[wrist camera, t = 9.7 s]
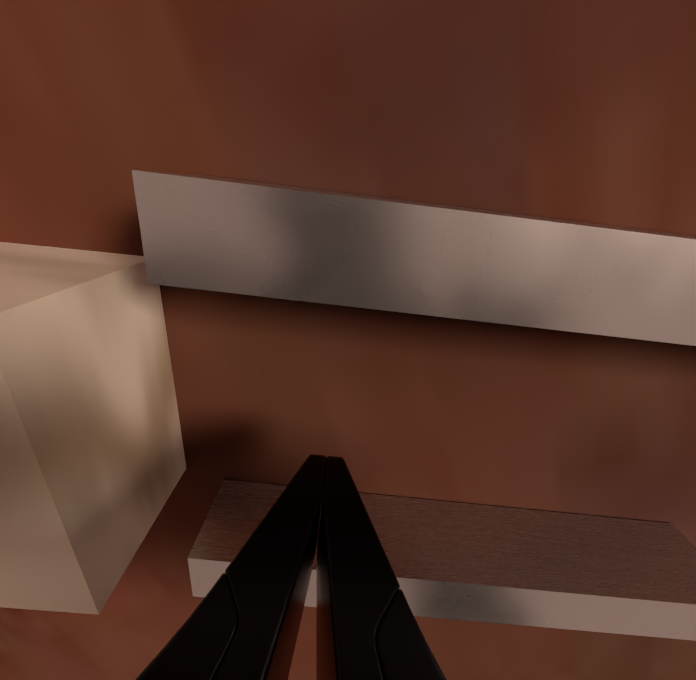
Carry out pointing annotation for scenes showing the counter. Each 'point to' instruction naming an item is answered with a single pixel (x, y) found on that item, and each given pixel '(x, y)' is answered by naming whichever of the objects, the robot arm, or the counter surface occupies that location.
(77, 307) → the block
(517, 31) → the counter surface
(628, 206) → the counter surface
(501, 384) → the counter surface
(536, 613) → the chute
